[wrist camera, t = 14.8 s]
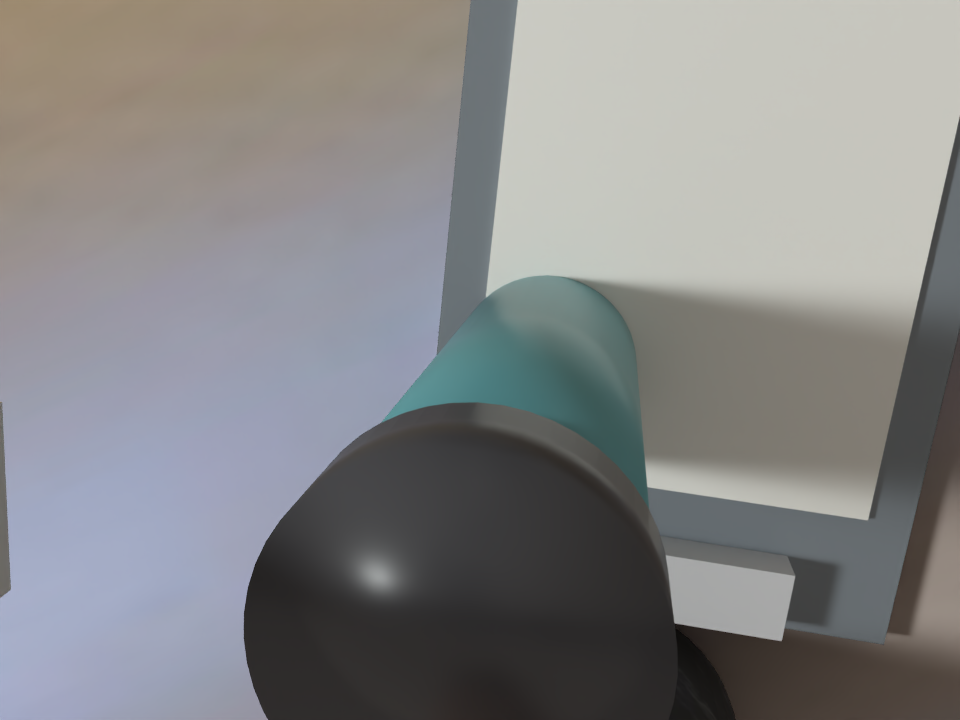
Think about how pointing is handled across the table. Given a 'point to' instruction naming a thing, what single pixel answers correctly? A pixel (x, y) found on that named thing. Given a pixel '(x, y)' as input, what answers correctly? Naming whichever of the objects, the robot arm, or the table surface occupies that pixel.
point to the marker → (480, 539)
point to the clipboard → (739, 266)
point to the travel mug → (698, 687)
